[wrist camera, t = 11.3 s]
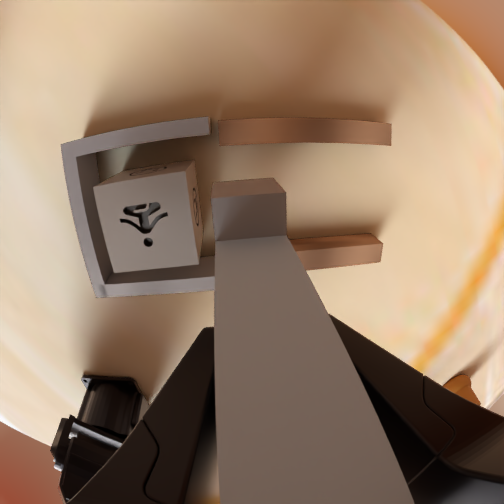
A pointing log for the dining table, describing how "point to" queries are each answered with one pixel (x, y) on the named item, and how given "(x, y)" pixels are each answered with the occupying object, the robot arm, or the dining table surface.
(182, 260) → the dice cube
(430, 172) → the dining table surface
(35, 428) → the dining table surface
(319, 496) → the grey notched beam
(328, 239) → the slot rails
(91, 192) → the box
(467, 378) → the ornamental finial
